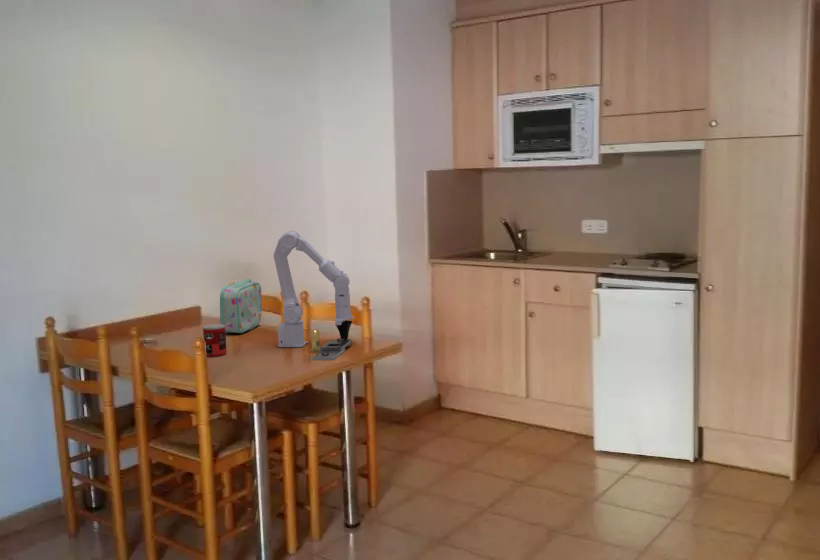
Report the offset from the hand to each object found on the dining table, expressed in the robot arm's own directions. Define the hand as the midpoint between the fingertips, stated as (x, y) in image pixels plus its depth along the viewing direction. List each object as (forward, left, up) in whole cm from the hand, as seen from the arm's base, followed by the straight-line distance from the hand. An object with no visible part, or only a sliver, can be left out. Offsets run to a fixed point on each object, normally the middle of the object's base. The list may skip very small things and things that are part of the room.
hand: (344, 340), depth 315 cm
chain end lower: (0, -20, -1) cm, 20 cm away
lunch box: (-54, +26, -2) cm, 60 cm away
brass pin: (-7, -14, -1) cm, 16 cm away
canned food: (-44, -21, -2) cm, 49 cm away
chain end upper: (0, -11, 0) cm, 11 cm away
